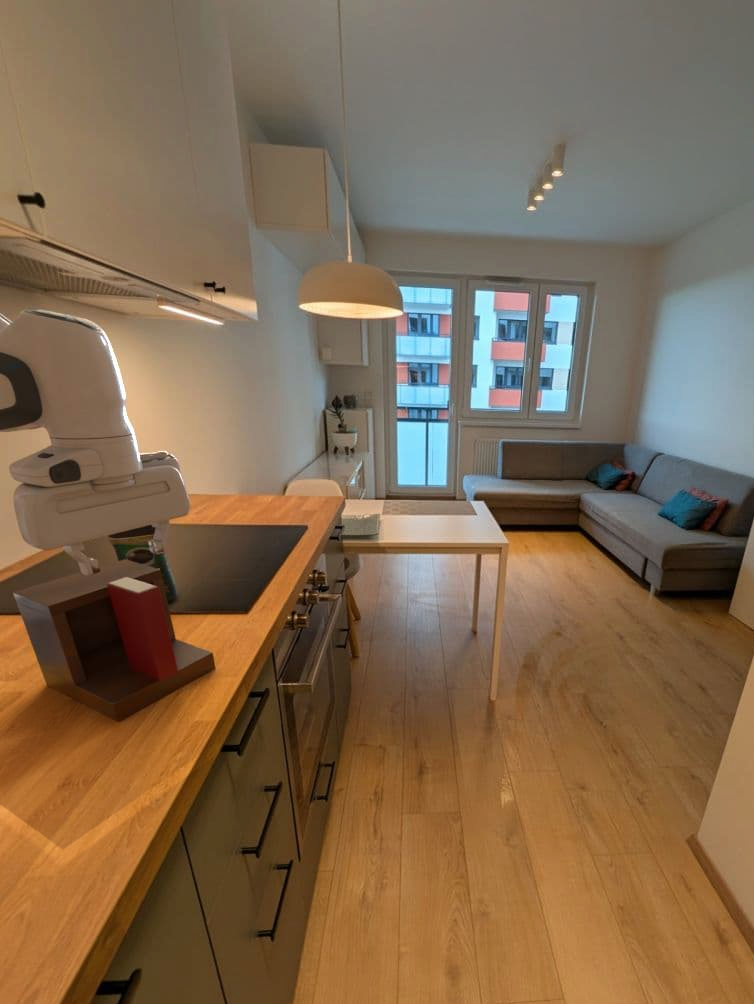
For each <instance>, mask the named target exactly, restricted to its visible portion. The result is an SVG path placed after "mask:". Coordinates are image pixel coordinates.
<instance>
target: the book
mask: <svg viewBox="0 0 754 1004" xmlns="http://www.w3.org/2000/svg"><path fill="white" fill-rule="evenodd" d="M107 587H108V590H109V594H110V597H111V601H112V605H113V608H114V612H115V615H116V619H117V622H118V626H119V630H120V633H121V637H122V640H123V644H124V648H125V651H126V655H127V658H128V662H129V665H130V669H132V670H134V671H136V672H139V673H141V674H143V675H146V676H148V677H150V678H153V679H155V680H157V681H160V682H161V681H163V680H164V679H166V678H168V677H170V676H172V675H174V674H176V673H178V668H177V664H176V660H175V656H174V651H173V647H172V643H171V638H170V634H169V630H168V626H167V621H166V617H165V613H164V609H163V604H162V600H161V596H160V591H159V587H157V586H154V585H151V584H148V583H144V582H141V581H138V580H135V579H132V578H128V577H125V578H122V579H119V580H116V581H113V582H110V583H109V584H107Z"/></svg>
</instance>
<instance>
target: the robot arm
mask: <svg viewBox="0 0 754 1004" xmlns="http://www.w3.org/2000/svg"><path fill="white" fill-rule="evenodd" d="M118 363H119V362H118V360H117V357H116V354H115V351H114V349H113V346H112V344H111V342H110V339H109V337H108V336H107V334H106V332H105V331H104V330H103V329H102V327H100V326H99V325H98V324H97V323H96V322H93V321H92V320H89V319H87V318H84V317H81V316H75V315H71V314H67V313H61V312H60V313H59V312H55V311H51V310H45V309H38V308H28V309H24V310H21V311H20V312H19V313H18V315H16V318H15V319H14V320H13V321H12V320H10V318H8V317H6V315H4V314H2V313H1V312H0V433H10V432H11V433H12V432H19V431H27V430H28V431H29V430H37V429H43V428H44V429H45V430H46V431H47V434H48V436H49V440H50V444H51V445H48V446H47V447H45V448H42V449H41V450H38V451H36V452H34V453H31V454H30V455H26V456H24V457H22V458H20V459H18V460H16V461H14V462H11V464H10V465H9V466H8V471H9V473H10V476H11V478H12V479H13V480H14V481H16V482H19V483H20V484H18V486H17V487H16V488H15V489H14V492H13V498H12V500H13V501H12V502H13V507H14V508H13V509H14V513H15V516H16V521H17V525H18V529H19V533H20V535H21V537H22V539H23V541H24V542H25V543H26V544H28V545H30V546H31V547H33V548H36V549H39V550H43V551H52V550H57V549H60V548H62V550H63V552H65V553H66V554H67V555H68V556H70V557H71V558H72V559H74V560H75V561H76V562H77V563H78V567H79V569H80V572H82V573H83V574H84V575H87V576H89V575H92V574H95V573H98V572H100V568H99V567H100V565H99V564H100V563H99V560H98V559H95V558H93V557H87V556H86V555H85V554H84V553H83V551H85V549H86V548H85V545H84V542H87V541H88V542H89V541H92V540H96V539H99V538H104V537H108V535H112V534H116V533H120V532H124V531H127V530H131V529H135V528H139V527H143V526H147V525H152V527H155V528H156V529H155V533H154V537H153V539H154V540H150V541H148V543H149V546H150V551H151V552H152V553H153V554H160V553H164V552H165V553H167V552H168V547H167V542H166V541H167V539H168V536H169V532H170V530H171V523H170V521H171V520H175V519H178V518H183V517H187V516H188V515H189V513H190V510H191V508H192V507H191V501H190V497H189V495H188V491H187V488H186V485H185V482H184V480H183V477H182V475H181V473H182V472H181V469H180V468H181V467H180V463H179V460H178V459H177V458H176V456H174V455H173V454H171V453H168V452H167V451H165V450H158V451H155V452H142V453H140V450H139V445H138V442H137V441H138V440H137V437H136V436H137V435H136V432H135V429H134V427H133V425H132V423H131V422H130V419H129V417H128V414H127V408H126V406H127V393H126V388H125V386H124V382H123V378H122V374H121V370H120V366H119V364H118ZM81 551H82V552H81Z"/></svg>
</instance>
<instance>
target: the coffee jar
mask: <svg viewBox="0 0 754 1004" xmlns="http://www.w3.org/2000/svg"><path fill="white" fill-rule="evenodd" d="M155 529H156V528H155V527H152V525H147V526H143V527H139V528H135V529H131V530H127V531H124V532H120V533H116V534H112V535H108V536H107V540H108V541H109V543H110V544H111V545H112V547H113V549H114V551H115V555H116V558H117V561H121V560H124V559H126V560H129V561H133V562H136V563H140V564H143V565H147V566H150V567H153V568H157V569H160V572H161V576H162V581H163V585H164V589H165V594H166V598H167V603H168V604H169V603H171V602H173V601H174V600H176V599H177V598H178V595H179V590H178V587H177V584H176V580H175V578H174V575H173V572H172V569H171V567H170V564H169V561H168V558H167V555H166V552H164V553H160V554H153V553H152V552H151V551H150V546H149V543H148V541H150V540H154V539H153V537H154V533H155Z"/></svg>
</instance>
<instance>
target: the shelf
mask: <svg viewBox="0 0 754 1004" xmlns="http://www.w3.org/2000/svg"><path fill="white" fill-rule="evenodd" d="M98 567H99V568H100V572H98V573H95V574H92V575H89V576H87V575H84V574H83V573H82V572H81V571H80V572H76V573H73V574H70V575H67V576H64V577H60V578H57V579H54V580H49V581H47V582H43V583H39V584H36V585H32V586H29V587H26V588H23V589H20V590H15V591H13V592H12V594H13V596H14V599H15V602H16V605H17V608H18V611H19V613H20V616H21V618H22V622H23V624H24V627H25V630H26V632H27V636H28V639H29V640H30V643H31V646H32V649H33V651H34V655H35V657H36V660H37V662H38V666H39V668H40V670H41V673H42V676H43V679H44V682H45V684H46V686H48V687H49V688H51V689H53V690H55V691H57V692H59V693H61V694H63V695H65V696H68V697H69V698H71V699H73V700H75V701H77V702H79V703H81V704H83V705H84V706H86V707H89V708H90V709H93V710H94V711H97V712H98V713H101V714H103V715H104V716H107V717H108V718H110V719H112V720H113V721H116V722H118V723H120V722H121V721H123V720H125V719H126V718H129V717H130V716H132V715H133V714H136V713H138V712H140V711H141V710H143V709H145V708H146V707H148V706H150V705H152V704H154V703H156V702H158V701H159V700H161V699H163V698H165V697H166V696H168V695H170V694H172V693H174V692H175V691H177V690H180V689H181V688H183V687H184V686H186V685H188V684H190V683H192V682H193V681H195V680H197V679H199V678H201V677H202V676H204V675H206V674H208V673H209V672H211V671H213V670H215V669H216V663H215V658H214V654H213V653H214V652H212V651H209V650H207V649H204V648H202V647H199V646H196V645H194V644H191V643H187V642H186V641H182V640H180V639H177V638H176V633H175V628H174V625H173V619H172V616H171V611H170V607H169V602H168V603H167V598H166V594H165V589H164V585H163V581H162V576H161V572H160V569H157V568H153V567H150V566H147V565H143V564H140V563H136V562H133V561H129V560H126V559H124V560H121V561H118V560H117V561H115V562H110V563H108V564H104V565H101V566H100V565H99V566H98ZM125 577H128V578H132V579H135V580H138V581H141V582H144V583H148V584H151V585H154V586H157V587H159V591H160V596H161V600H162V604H163V609H164V613H165V617H166V621H167V626H168V630H169V634H170V638H171V643H172V647H173V651H174V656H175V660H176V664H177V668H178V673H176V674H174V675H172V676H170V677H168V678H166V679H164V680H163V681H161V682H160V681H157V680H155V679H153V678H150V677H148V676H146V675H143V674H141V673H139V672H136V671H134V670H132V669H130V665H129V662H128V658H127V655H126V651H125V648H124V644H123V640H122V637H121V633H120V630H119V626H118V622H117V619H116V615H115V612H114V608H113V605H112V601H111V597H110V594H109V590H108V587H107V584H109V583H110V582H113V581H116V580H119V579H122V578H125Z"/></svg>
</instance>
